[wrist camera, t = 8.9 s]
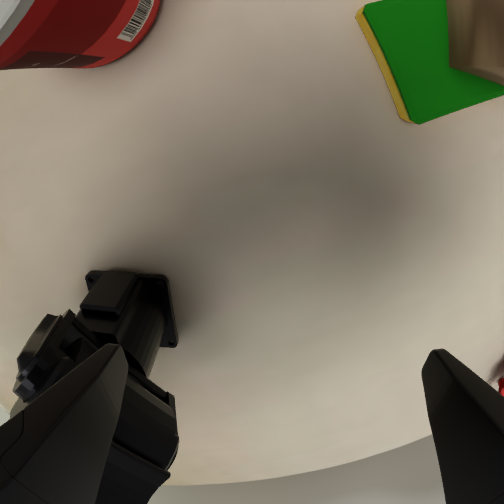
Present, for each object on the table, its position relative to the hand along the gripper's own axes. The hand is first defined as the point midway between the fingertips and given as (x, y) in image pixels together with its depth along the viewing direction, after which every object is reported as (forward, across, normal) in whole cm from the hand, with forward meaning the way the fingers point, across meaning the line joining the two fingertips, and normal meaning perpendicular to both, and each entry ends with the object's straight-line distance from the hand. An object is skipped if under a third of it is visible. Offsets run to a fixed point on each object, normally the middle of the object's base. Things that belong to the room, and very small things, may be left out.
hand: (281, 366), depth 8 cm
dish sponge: (+13, -12, -12) cm, 21 cm away
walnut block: (+10, -12, -12) cm, 20 cm away
